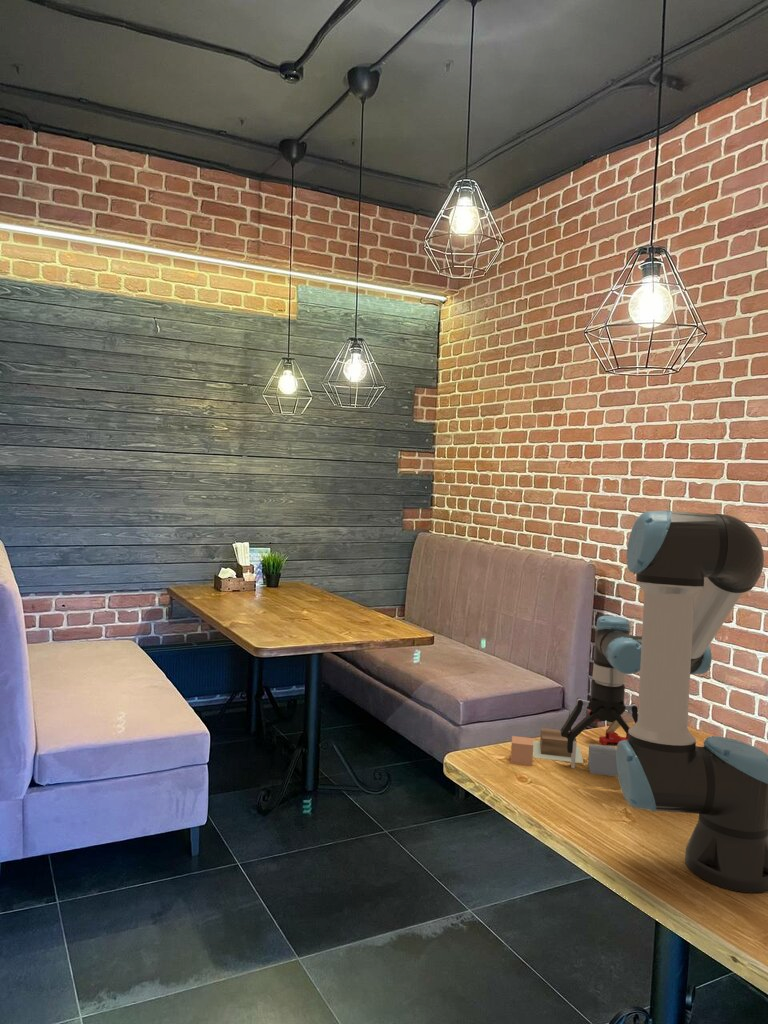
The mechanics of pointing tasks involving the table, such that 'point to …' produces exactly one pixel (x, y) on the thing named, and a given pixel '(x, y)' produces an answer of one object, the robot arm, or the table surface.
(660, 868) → the table surface
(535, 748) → the plate
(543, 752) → the walnut base
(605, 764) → the slate brick
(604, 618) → the robot arm
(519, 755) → the terracotta brick
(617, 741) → the toy fire truck
